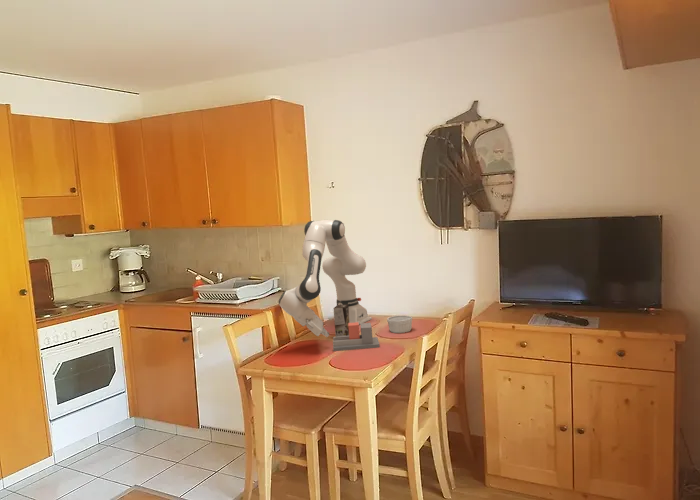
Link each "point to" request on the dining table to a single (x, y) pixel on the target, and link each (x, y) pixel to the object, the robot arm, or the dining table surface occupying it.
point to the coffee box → (341, 320)
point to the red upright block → (354, 330)
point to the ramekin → (400, 323)
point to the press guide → (357, 340)
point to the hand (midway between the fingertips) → (328, 335)
